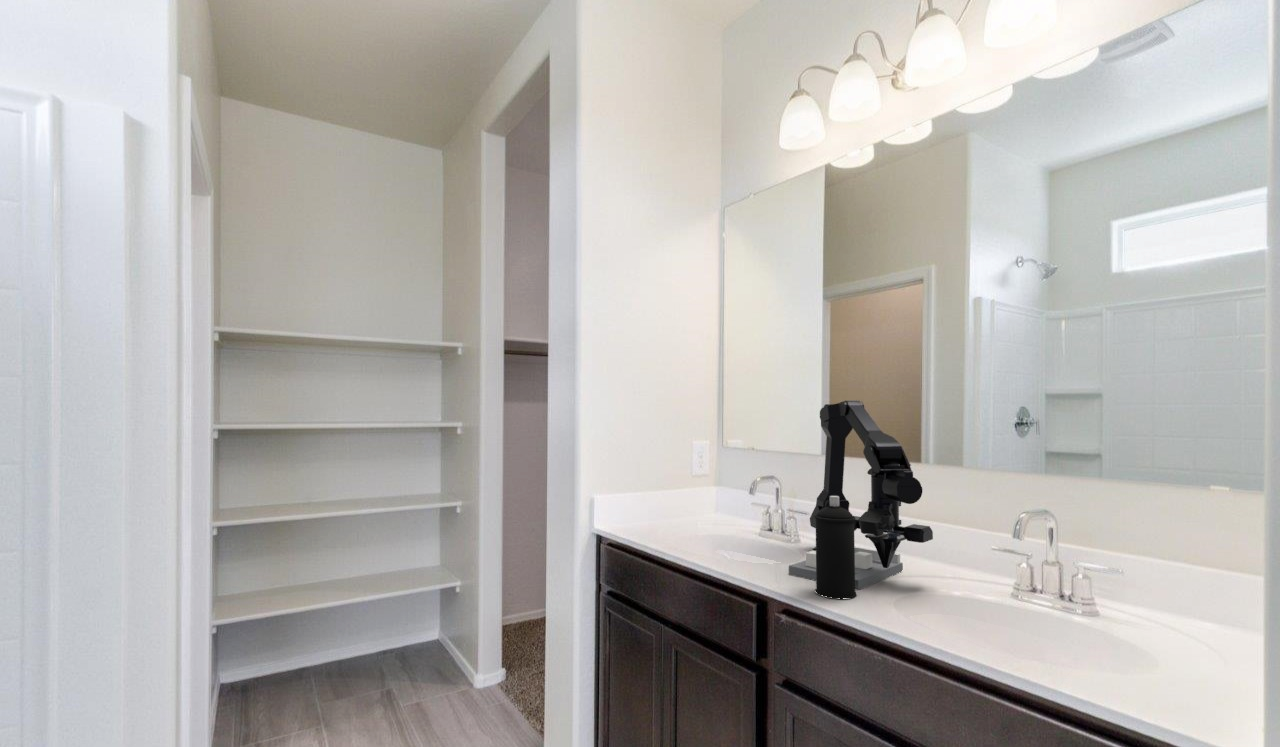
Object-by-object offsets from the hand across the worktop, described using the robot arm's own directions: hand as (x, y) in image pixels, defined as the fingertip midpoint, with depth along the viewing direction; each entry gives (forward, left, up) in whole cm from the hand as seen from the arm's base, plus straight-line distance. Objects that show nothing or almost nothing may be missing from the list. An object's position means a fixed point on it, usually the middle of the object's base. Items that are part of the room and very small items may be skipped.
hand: (885, 567), depth 141 cm
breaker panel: (0, -9, -3) cm, 10 cm away
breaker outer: (+7, -13, -1) cm, 15 cm away
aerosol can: (+17, -3, -3) cm, 18 cm away
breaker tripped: (0, -5, -1) cm, 5 cm away
